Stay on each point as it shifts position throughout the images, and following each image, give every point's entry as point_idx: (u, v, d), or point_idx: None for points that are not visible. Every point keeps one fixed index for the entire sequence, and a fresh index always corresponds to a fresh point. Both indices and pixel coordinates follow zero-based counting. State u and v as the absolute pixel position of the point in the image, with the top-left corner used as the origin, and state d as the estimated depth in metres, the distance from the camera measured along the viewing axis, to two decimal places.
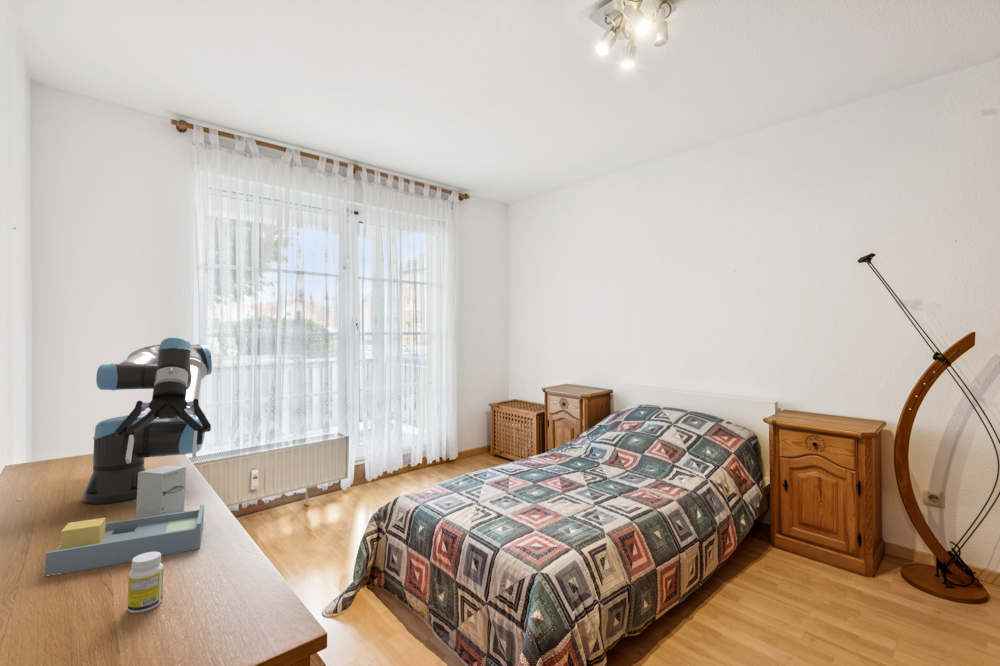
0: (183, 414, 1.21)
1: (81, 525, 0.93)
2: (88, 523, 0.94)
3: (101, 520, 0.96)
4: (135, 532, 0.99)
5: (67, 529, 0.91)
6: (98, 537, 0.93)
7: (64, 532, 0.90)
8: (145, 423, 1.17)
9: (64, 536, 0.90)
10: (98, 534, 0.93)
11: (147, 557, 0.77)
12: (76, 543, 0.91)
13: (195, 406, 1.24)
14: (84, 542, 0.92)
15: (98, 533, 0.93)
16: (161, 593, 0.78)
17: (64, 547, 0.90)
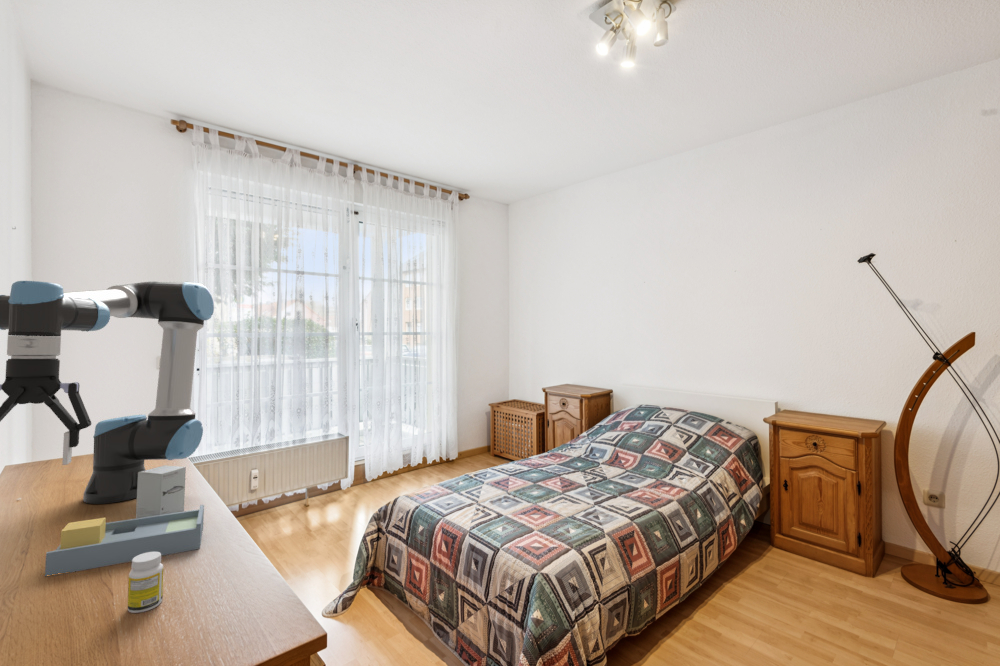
0: (51, 406, 0.91)
1: (81, 525, 0.93)
2: (88, 523, 0.94)
3: (101, 520, 0.96)
4: (135, 532, 0.99)
5: (67, 529, 0.91)
6: (98, 537, 0.93)
7: (64, 532, 0.90)
8: (4, 415, 0.88)
9: (64, 536, 0.90)
10: (98, 534, 0.93)
11: (147, 557, 0.77)
12: (76, 543, 0.91)
13: (70, 394, 0.92)
14: (84, 542, 0.92)
15: (98, 533, 0.93)
16: (161, 593, 0.78)
17: (64, 547, 0.90)
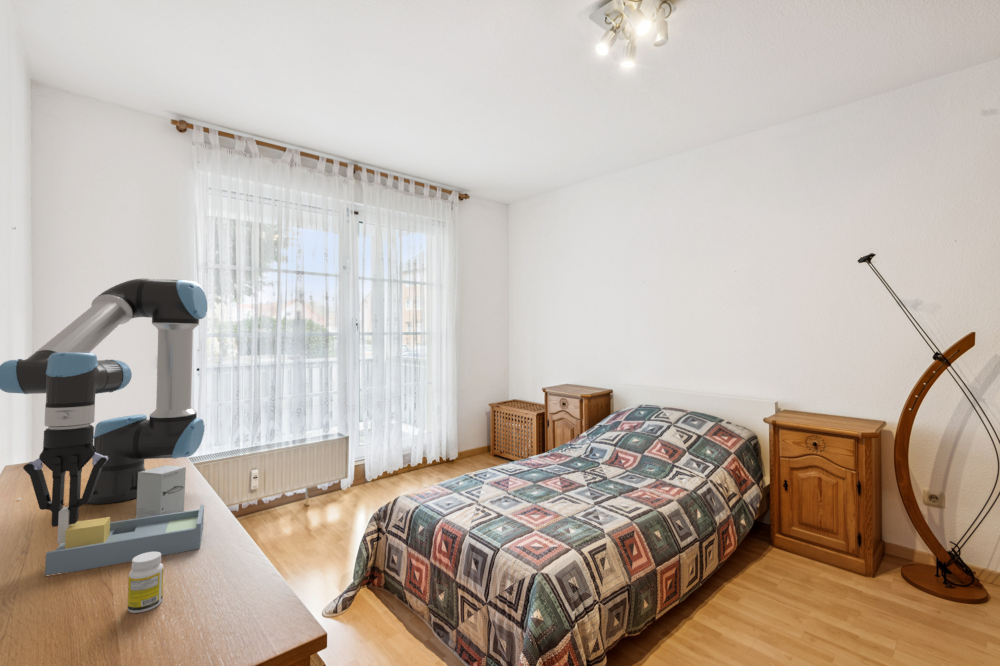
0: (72, 477, 0.92)
1: (85, 524, 0.94)
2: (93, 522, 0.95)
3: (105, 519, 0.96)
4: (135, 532, 0.99)
5: (72, 529, 0.91)
6: (102, 536, 0.93)
7: (68, 531, 0.91)
8: (62, 484, 0.92)
9: (68, 536, 0.91)
10: (102, 533, 0.93)
11: (147, 557, 0.77)
12: (81, 542, 0.92)
13: (95, 467, 0.94)
14: (88, 541, 0.92)
15: (102, 532, 0.93)
16: (161, 593, 0.78)
17: (69, 546, 0.91)
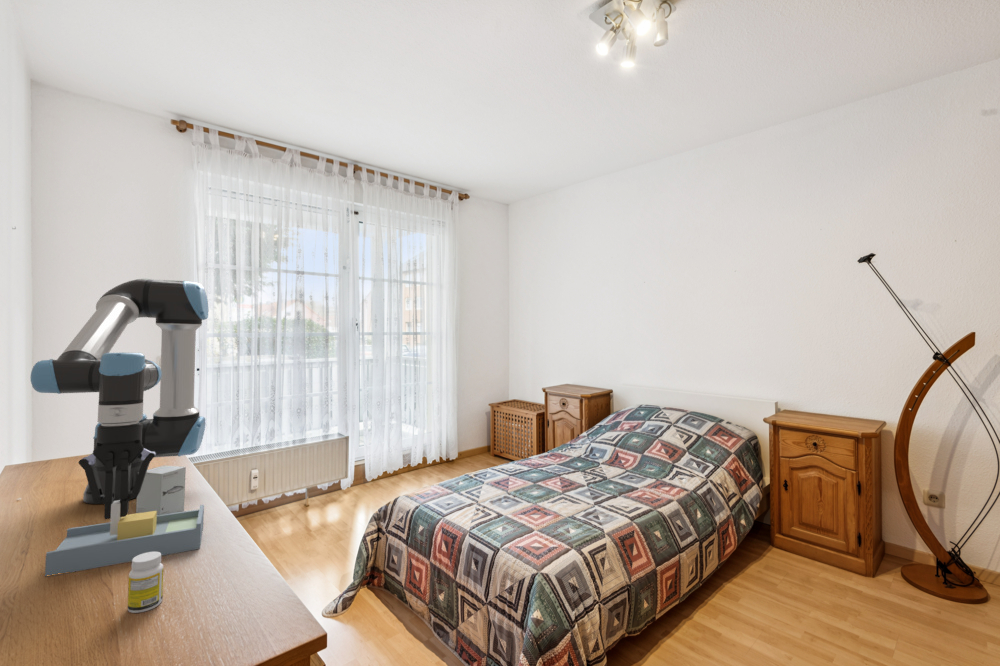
0: (123, 471, 0.96)
1: (135, 517, 0.98)
2: (142, 515, 0.99)
3: (153, 513, 1.00)
4: None
5: (123, 521, 0.95)
6: (151, 529, 0.97)
7: (120, 524, 0.95)
8: (113, 479, 0.96)
9: (120, 528, 0.95)
10: (151, 526, 0.97)
11: (147, 557, 0.77)
12: (131, 534, 0.96)
13: (144, 463, 0.98)
14: (139, 534, 0.96)
15: (151, 525, 0.97)
16: (161, 593, 0.78)
17: (120, 538, 0.95)
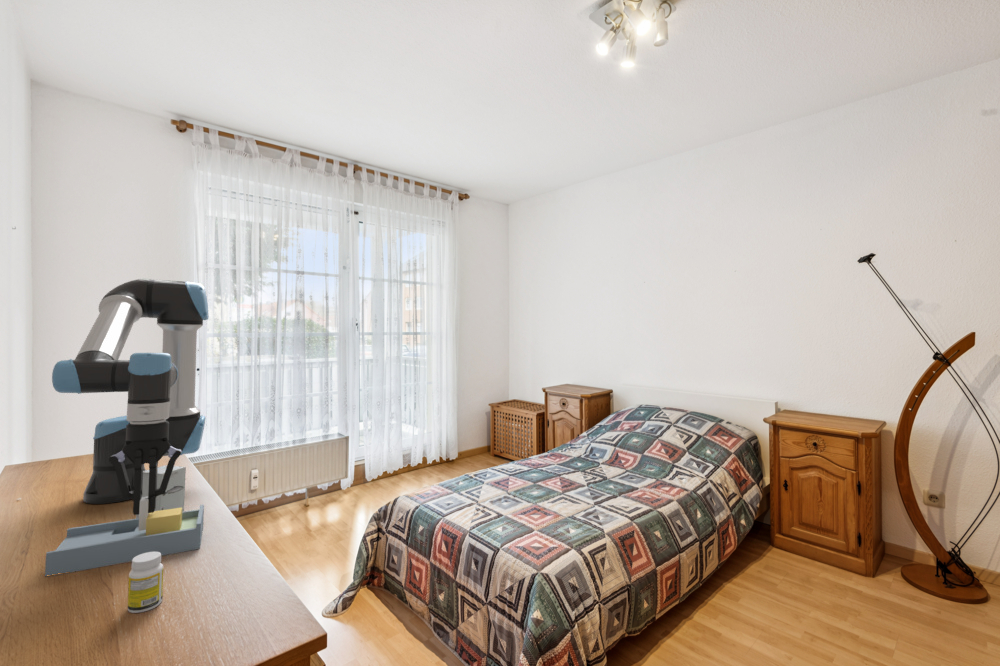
0: (151, 468, 0.99)
1: (162, 514, 1.00)
2: (168, 512, 1.01)
3: (179, 509, 1.02)
4: (135, 532, 0.99)
5: (151, 518, 0.97)
6: (178, 525, 1.00)
7: (149, 520, 0.97)
8: (142, 475, 0.99)
9: (148, 524, 0.97)
10: (178, 522, 1.00)
11: (147, 557, 0.77)
12: (159, 530, 0.98)
13: (171, 460, 1.01)
14: (166, 530, 0.99)
15: (178, 521, 1.00)
16: (161, 593, 0.78)
17: (149, 534, 0.97)
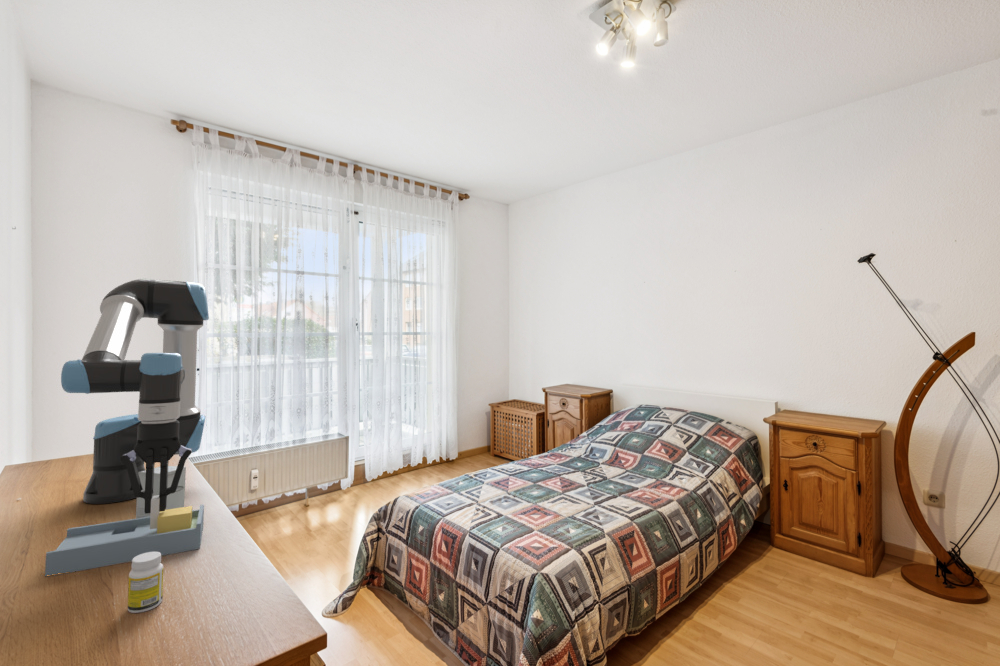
0: (162, 467, 1.00)
1: (173, 512, 1.01)
2: (179, 510, 1.02)
3: (189, 508, 1.03)
4: (135, 532, 0.99)
5: (162, 516, 0.98)
6: (189, 523, 1.01)
7: (160, 518, 0.98)
8: (153, 474, 1.00)
9: (160, 522, 0.98)
10: (189, 521, 1.01)
11: (147, 557, 0.77)
12: (170, 529, 0.99)
13: (181, 459, 1.02)
14: (177, 528, 1.00)
15: (189, 520, 1.01)
16: (161, 593, 0.78)
17: (160, 532, 0.98)
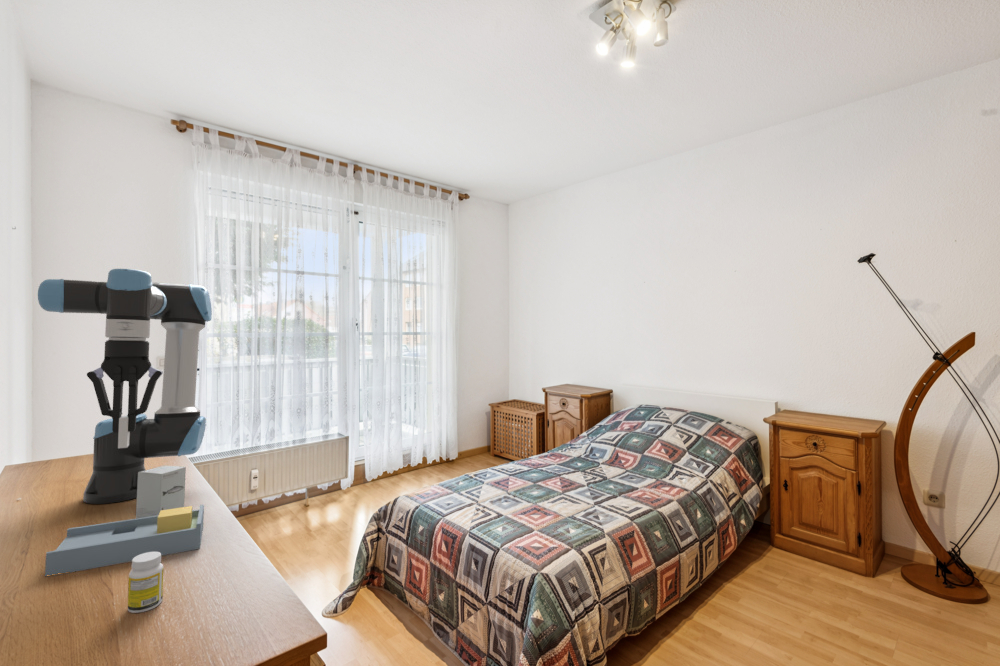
0: (131, 386, 0.97)
1: (173, 512, 1.01)
2: (179, 510, 1.02)
3: (189, 508, 1.03)
4: (135, 532, 0.99)
5: (162, 516, 0.98)
6: (189, 523, 1.01)
7: (160, 518, 0.98)
8: (121, 394, 0.98)
9: (160, 522, 0.98)
10: (189, 521, 1.01)
11: (147, 557, 0.77)
12: (170, 529, 0.99)
13: (151, 379, 0.99)
14: (177, 528, 1.00)
15: (189, 520, 1.01)
16: (161, 593, 0.78)
17: (160, 532, 0.98)
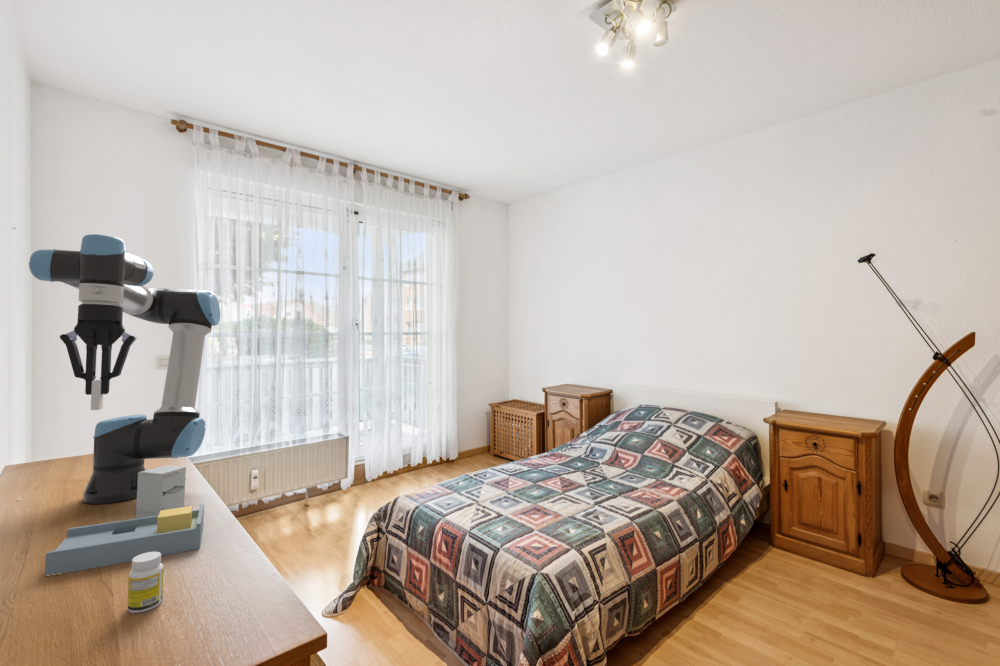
0: (104, 350, 1.00)
1: (173, 512, 1.01)
2: (179, 510, 1.02)
3: (189, 508, 1.03)
4: (135, 532, 0.99)
5: (162, 516, 0.98)
6: (189, 523, 1.01)
7: (160, 518, 0.98)
8: (94, 357, 1.00)
9: (160, 522, 0.98)
10: (189, 521, 1.01)
11: (147, 557, 0.77)
12: (170, 529, 0.99)
13: (124, 344, 1.01)
14: (177, 528, 1.00)
15: (189, 520, 1.01)
16: (161, 593, 0.78)
17: (160, 532, 0.98)
